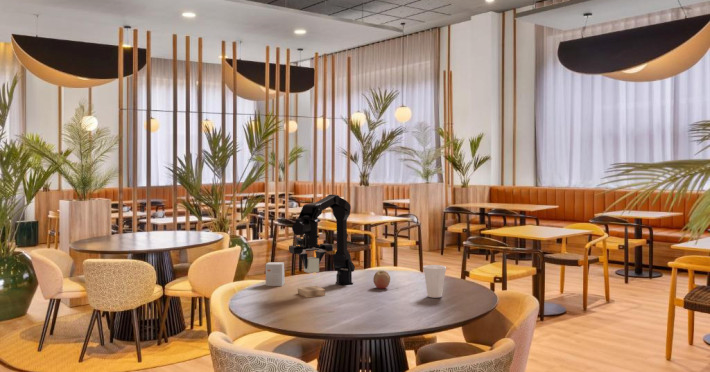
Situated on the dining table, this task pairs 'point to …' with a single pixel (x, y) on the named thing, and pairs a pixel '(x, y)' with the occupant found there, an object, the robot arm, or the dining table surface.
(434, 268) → the cup
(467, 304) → the dining table surface
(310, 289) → the oak block
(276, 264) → the small box
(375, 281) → the fruit
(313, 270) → the sage cube
